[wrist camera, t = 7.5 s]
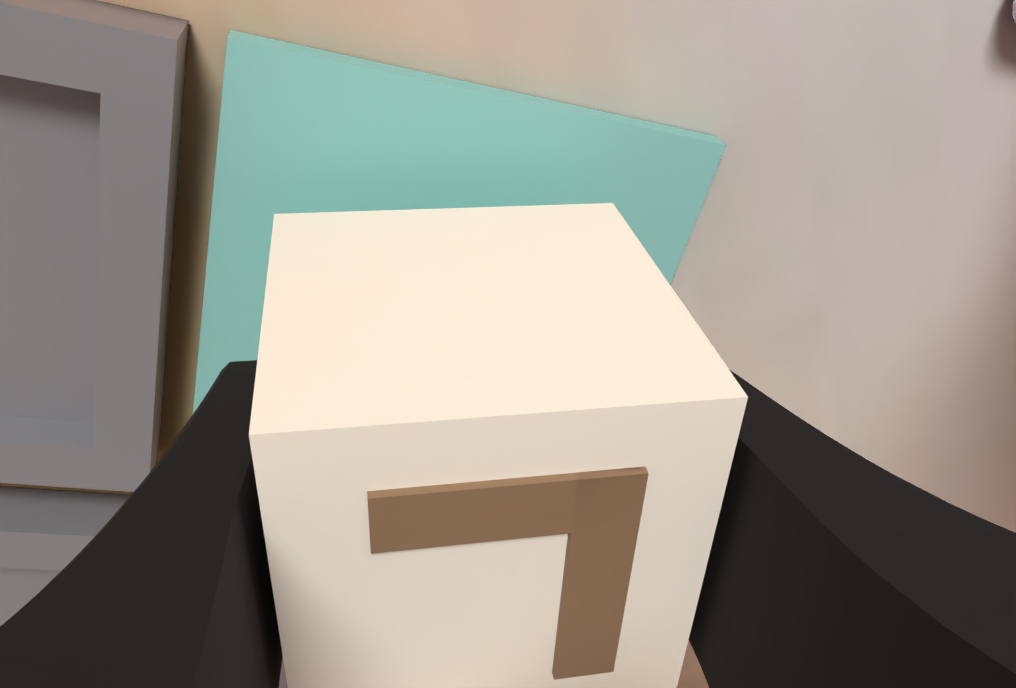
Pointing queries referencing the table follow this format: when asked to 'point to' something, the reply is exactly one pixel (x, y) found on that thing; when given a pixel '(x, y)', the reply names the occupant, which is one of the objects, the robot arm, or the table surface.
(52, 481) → the tray
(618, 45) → the table surface
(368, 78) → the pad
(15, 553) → the tray
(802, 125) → the table surface
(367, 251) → the letter cube
